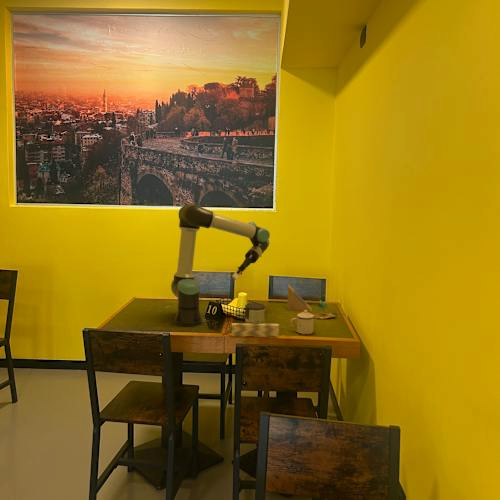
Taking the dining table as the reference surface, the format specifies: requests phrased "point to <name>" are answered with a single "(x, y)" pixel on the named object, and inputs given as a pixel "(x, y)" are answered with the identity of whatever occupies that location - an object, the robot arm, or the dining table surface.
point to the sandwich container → (296, 301)
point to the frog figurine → (322, 305)
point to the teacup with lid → (304, 322)
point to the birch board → (255, 329)
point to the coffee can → (254, 313)
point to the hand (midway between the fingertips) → (233, 277)
